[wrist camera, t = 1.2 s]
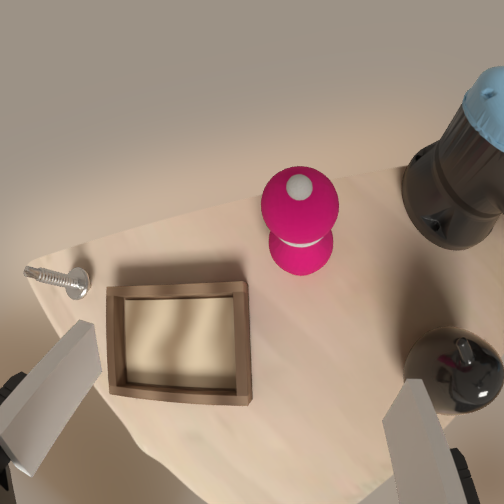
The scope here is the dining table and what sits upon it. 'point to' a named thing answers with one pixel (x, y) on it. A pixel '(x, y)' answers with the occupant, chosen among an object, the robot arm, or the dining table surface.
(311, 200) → the pepper mill
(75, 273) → the screw
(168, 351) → the walnut tray
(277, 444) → the dining table surface
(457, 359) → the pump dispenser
